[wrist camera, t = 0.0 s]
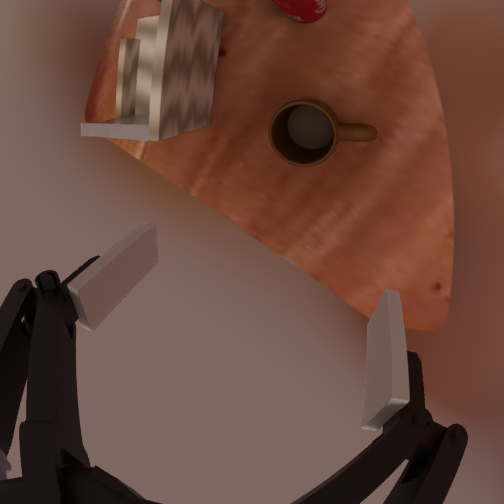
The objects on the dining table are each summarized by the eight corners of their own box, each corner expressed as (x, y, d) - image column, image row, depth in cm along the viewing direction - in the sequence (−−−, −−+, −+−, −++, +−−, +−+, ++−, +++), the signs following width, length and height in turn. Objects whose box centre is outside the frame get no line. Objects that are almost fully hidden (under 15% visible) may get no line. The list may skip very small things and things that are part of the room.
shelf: (143, 20, 33) (83, 11, 22) (224, 13, 30) (174, -12, 19) (134, 118, 43) (76, 134, 32) (210, 125, 40) (158, 141, 29)
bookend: (133, 110, 40) (80, 123, 31) (197, 114, 38) (149, 126, 29) (133, 121, 41) (81, 135, 32) (196, 126, 39) (148, 141, 30)
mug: (370, 99, 32) (379, 100, 24) (372, 154, 35) (379, 171, 28) (281, 100, 35) (263, 101, 28) (286, 152, 39) (270, 168, 31)
